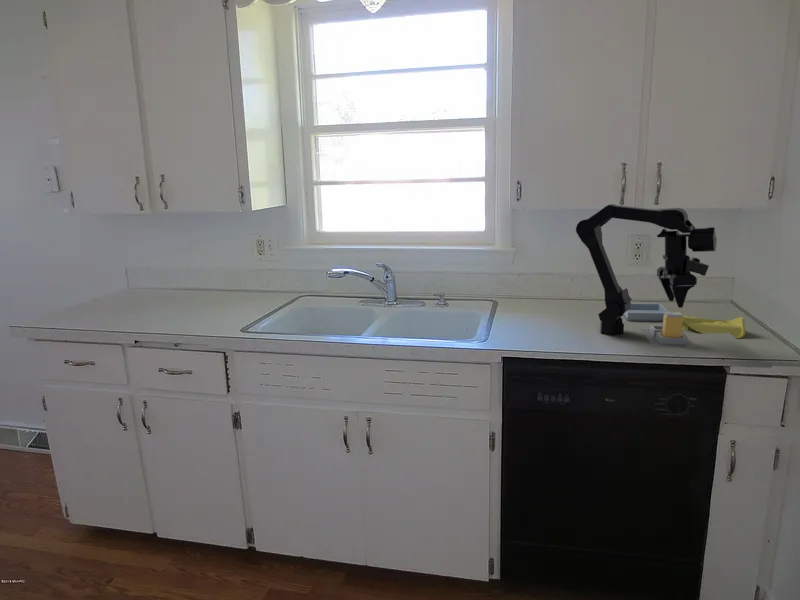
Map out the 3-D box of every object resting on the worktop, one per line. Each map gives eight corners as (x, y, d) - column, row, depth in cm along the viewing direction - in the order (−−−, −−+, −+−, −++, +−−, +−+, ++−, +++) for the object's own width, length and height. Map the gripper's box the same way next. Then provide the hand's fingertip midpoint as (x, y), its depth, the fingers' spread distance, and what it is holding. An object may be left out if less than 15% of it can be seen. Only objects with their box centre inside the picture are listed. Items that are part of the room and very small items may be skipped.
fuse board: (653, 351, 167) (654, 339, 166) (639, 333, 184) (640, 323, 183) (697, 352, 164) (698, 341, 164) (679, 334, 182) (680, 323, 181)
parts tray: (627, 320, 198) (628, 312, 198) (620, 310, 212) (620, 303, 211) (670, 321, 196) (670, 313, 195) (659, 311, 209) (660, 303, 208)
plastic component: (730, 321, 186) (745, 315, 177) (731, 343, 185) (746, 339, 175) (668, 316, 189) (679, 310, 179) (667, 338, 187) (679, 333, 178)
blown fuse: (680, 343, 168) (682, 315, 166) (664, 343, 169) (666, 314, 167) (677, 340, 171) (679, 312, 169) (661, 339, 172) (663, 312, 170)
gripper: (717, 253, 154) (716, 309, 157) (695, 246, 172) (694, 296, 175) (673, 256, 156) (673, 311, 159) (656, 249, 174) (656, 298, 177)
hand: (675, 304), depth 167 cm, fingers open, 9 cm apart
